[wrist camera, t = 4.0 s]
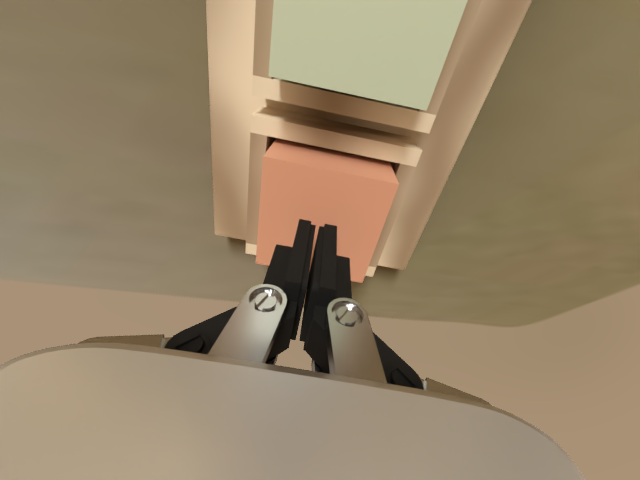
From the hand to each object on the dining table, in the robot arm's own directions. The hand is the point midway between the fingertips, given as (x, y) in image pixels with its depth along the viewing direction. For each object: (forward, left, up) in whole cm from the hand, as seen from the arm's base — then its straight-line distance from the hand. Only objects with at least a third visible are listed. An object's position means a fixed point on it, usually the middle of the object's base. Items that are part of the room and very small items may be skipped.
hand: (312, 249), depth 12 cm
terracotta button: (0, 0, -5) cm, 5 cm away
